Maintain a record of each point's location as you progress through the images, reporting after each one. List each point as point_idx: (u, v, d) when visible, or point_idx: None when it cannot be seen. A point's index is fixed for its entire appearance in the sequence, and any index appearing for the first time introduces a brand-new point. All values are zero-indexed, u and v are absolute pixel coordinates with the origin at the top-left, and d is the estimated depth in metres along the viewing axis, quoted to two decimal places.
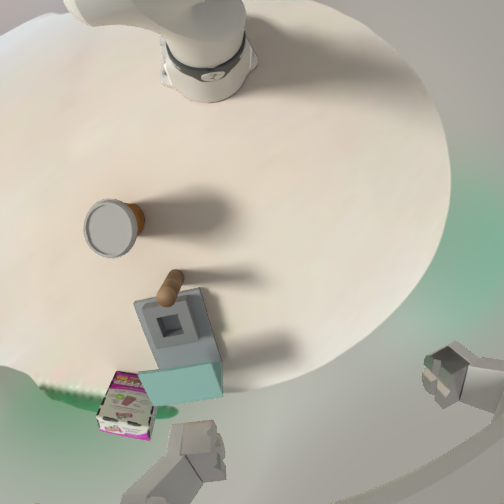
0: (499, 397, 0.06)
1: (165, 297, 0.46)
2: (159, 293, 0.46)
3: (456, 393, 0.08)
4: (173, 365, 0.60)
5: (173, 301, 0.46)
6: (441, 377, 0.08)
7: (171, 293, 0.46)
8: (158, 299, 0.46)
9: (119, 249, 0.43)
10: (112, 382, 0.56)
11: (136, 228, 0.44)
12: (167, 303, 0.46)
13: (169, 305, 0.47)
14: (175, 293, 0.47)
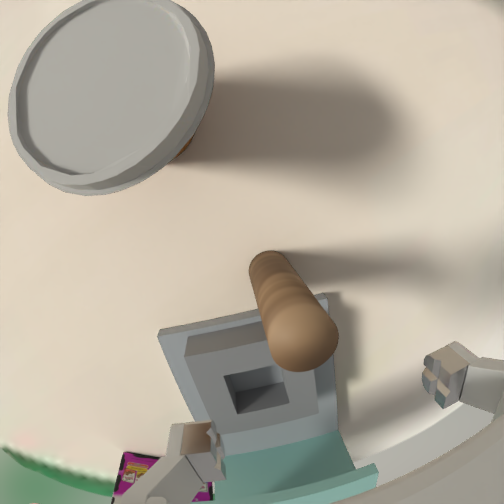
0: (499, 397, 0.06)
1: (304, 341, 0.13)
2: (284, 329, 0.13)
3: (456, 393, 0.08)
4: (243, 448, 0.27)
5: (328, 351, 0.13)
6: (441, 377, 0.08)
7: (327, 327, 0.13)
8: (277, 349, 0.13)
9: (130, 150, 0.10)
10: (119, 478, 0.23)
11: (210, 74, 0.10)
12: (307, 359, 0.13)
13: (312, 365, 0.13)
14: None
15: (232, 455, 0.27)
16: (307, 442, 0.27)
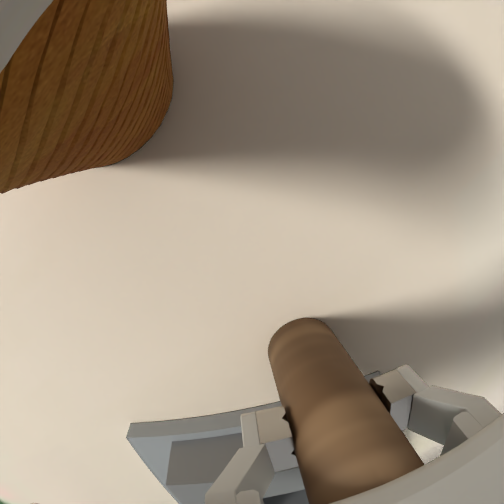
0: None
1: None
2: None
3: (402, 421, 0.08)
4: None
5: None
6: (383, 403, 0.08)
7: None
8: None
9: None
10: None
11: None
12: None
13: None
14: None
15: None
16: None
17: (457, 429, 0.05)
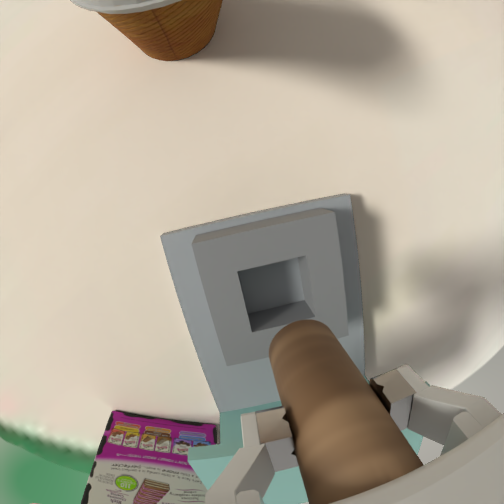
0: None
1: None
2: None
3: (402, 421, 0.08)
4: (255, 398, 0.25)
5: None
6: (384, 404, 0.08)
7: None
8: None
9: None
10: (104, 439, 0.21)
11: None
12: None
13: None
14: None
15: (241, 409, 0.25)
16: None
17: (457, 429, 0.05)
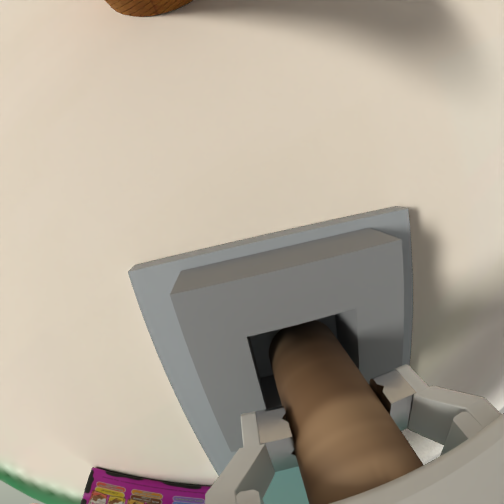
0: None
1: None
2: None
3: (402, 421, 0.08)
4: None
5: None
6: (384, 404, 0.08)
7: None
8: None
9: None
10: None
11: None
12: None
13: None
14: None
15: None
16: None
17: (457, 429, 0.05)
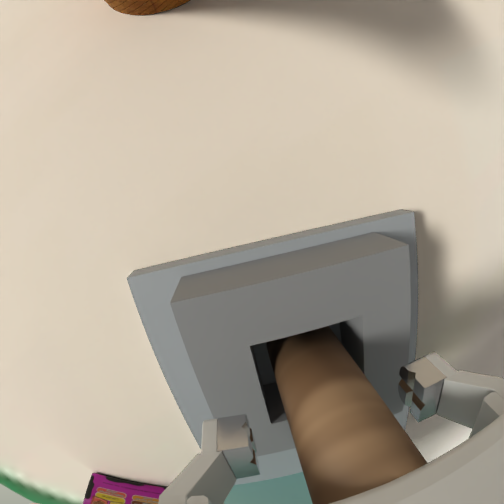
0: (478, 412, 0.06)
1: None
2: None
3: (432, 406, 0.08)
4: (268, 472, 0.17)
5: None
6: (416, 389, 0.08)
7: None
8: None
9: None
10: None
11: None
12: None
13: None
14: None
15: (251, 483, 0.17)
16: None
17: (488, 408, 0.05)
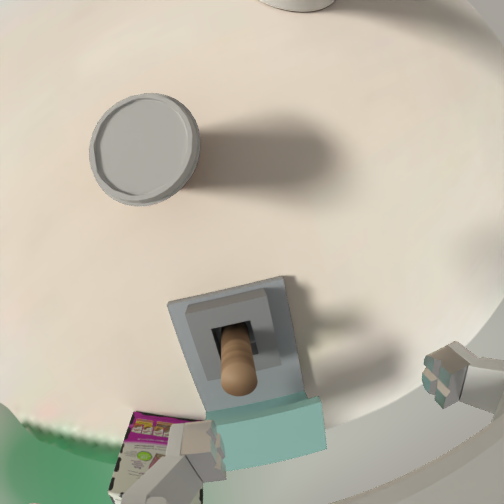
0: (499, 397, 0.06)
1: (238, 381, 0.24)
2: (227, 375, 0.24)
3: (456, 393, 0.08)
4: (229, 402, 0.37)
5: (253, 386, 0.25)
6: (441, 377, 0.08)
7: (250, 375, 0.24)
8: (225, 384, 0.24)
9: (160, 184, 0.22)
10: (129, 430, 0.33)
11: (198, 145, 0.22)
12: (241, 390, 0.25)
13: (245, 393, 0.25)
14: (255, 372, 0.25)
15: (220, 410, 0.37)
16: (279, 399, 0.37)
17: None
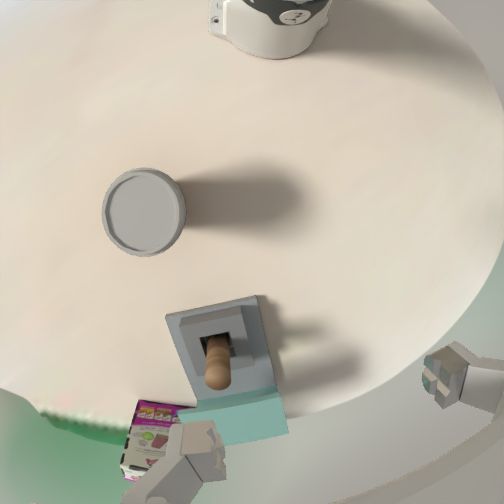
0: (499, 397, 0.06)
1: (217, 379, 0.34)
2: (209, 375, 0.33)
3: (456, 393, 0.08)
4: (215, 393, 0.47)
5: (228, 383, 0.34)
6: (441, 377, 0.08)
7: (225, 375, 0.34)
8: (207, 382, 0.34)
9: (157, 243, 0.30)
10: (135, 415, 0.43)
11: (184, 212, 0.30)
12: (219, 386, 0.34)
13: (222, 388, 0.34)
14: (230, 373, 0.34)
15: (208, 399, 0.47)
16: (255, 391, 0.47)
17: None
